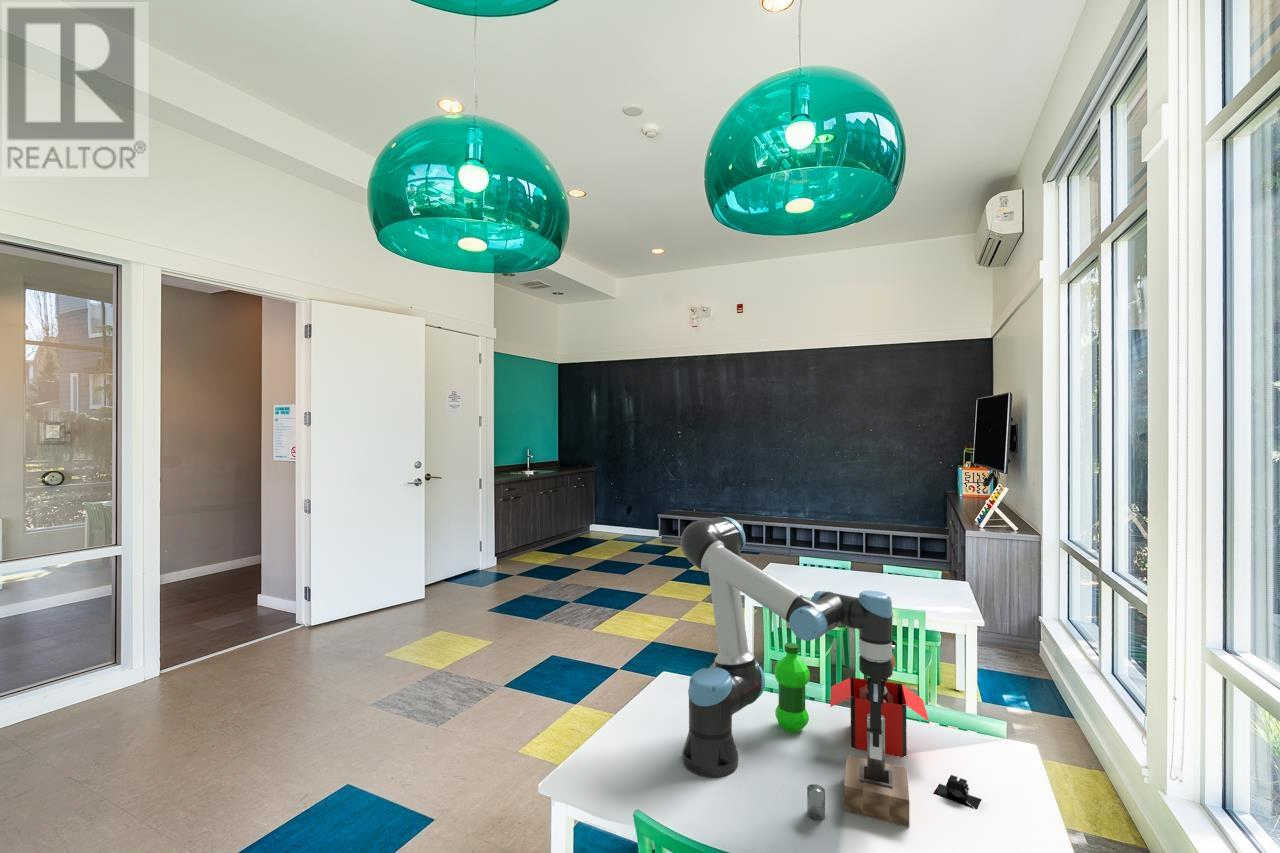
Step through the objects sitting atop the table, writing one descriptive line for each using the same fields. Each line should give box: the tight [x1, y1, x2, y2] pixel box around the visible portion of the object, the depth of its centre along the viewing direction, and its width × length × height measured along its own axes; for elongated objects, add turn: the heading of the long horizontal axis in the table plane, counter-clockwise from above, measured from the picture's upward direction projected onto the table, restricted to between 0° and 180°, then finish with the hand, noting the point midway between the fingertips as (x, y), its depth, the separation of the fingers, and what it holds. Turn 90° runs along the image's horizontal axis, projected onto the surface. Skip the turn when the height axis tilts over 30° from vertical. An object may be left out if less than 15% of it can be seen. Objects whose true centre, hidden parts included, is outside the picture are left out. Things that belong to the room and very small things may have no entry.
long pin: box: [866, 713, 886, 780], centre depth 140 cm, size 4×4×14 cm
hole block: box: [843, 755, 910, 828], centre depth 140 cm, size 14×14×6 cm
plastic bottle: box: [773, 642, 811, 733], centre depth 175 cm, size 10×10×25 cm
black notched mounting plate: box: [932, 774, 982, 811], centre depth 142 cm, size 12×7×5 cm, turn 48°
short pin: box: [806, 783, 826, 822], centre depth 135 cm, size 4×4×6 cm
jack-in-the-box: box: [829, 639, 930, 758], centre depth 169 cm, size 26×16×30 cm, turn 71°
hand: (876, 753), depth 140 cm, fingers closed on long pin, 4 cm apart
